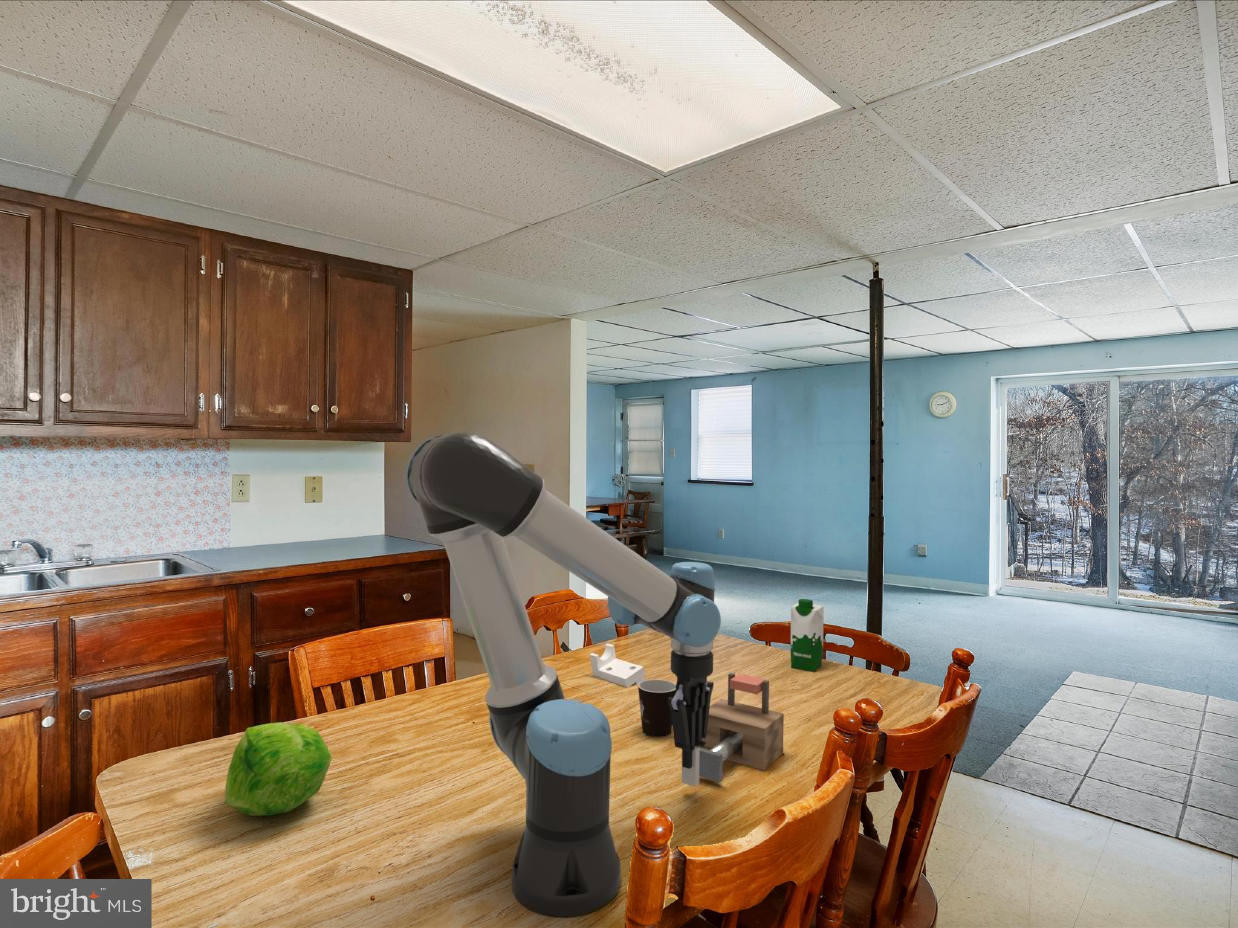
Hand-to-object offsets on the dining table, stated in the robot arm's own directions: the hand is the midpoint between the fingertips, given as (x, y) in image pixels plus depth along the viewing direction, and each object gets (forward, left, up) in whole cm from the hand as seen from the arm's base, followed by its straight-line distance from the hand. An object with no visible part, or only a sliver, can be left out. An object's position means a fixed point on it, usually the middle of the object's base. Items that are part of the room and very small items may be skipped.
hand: (690, 782), depth 118 cm
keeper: (+25, 0, +10) cm, 27 cm away
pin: (+13, 0, -1) cm, 13 cm away
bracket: (+44, +47, -3) cm, 65 cm away
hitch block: (+22, 0, -2) cm, 22 cm away
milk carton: (+88, +9, -2) cm, 88 cm away
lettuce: (-45, +54, -2) cm, 71 cm away
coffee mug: (+22, +20, -2) cm, 30 cm away
